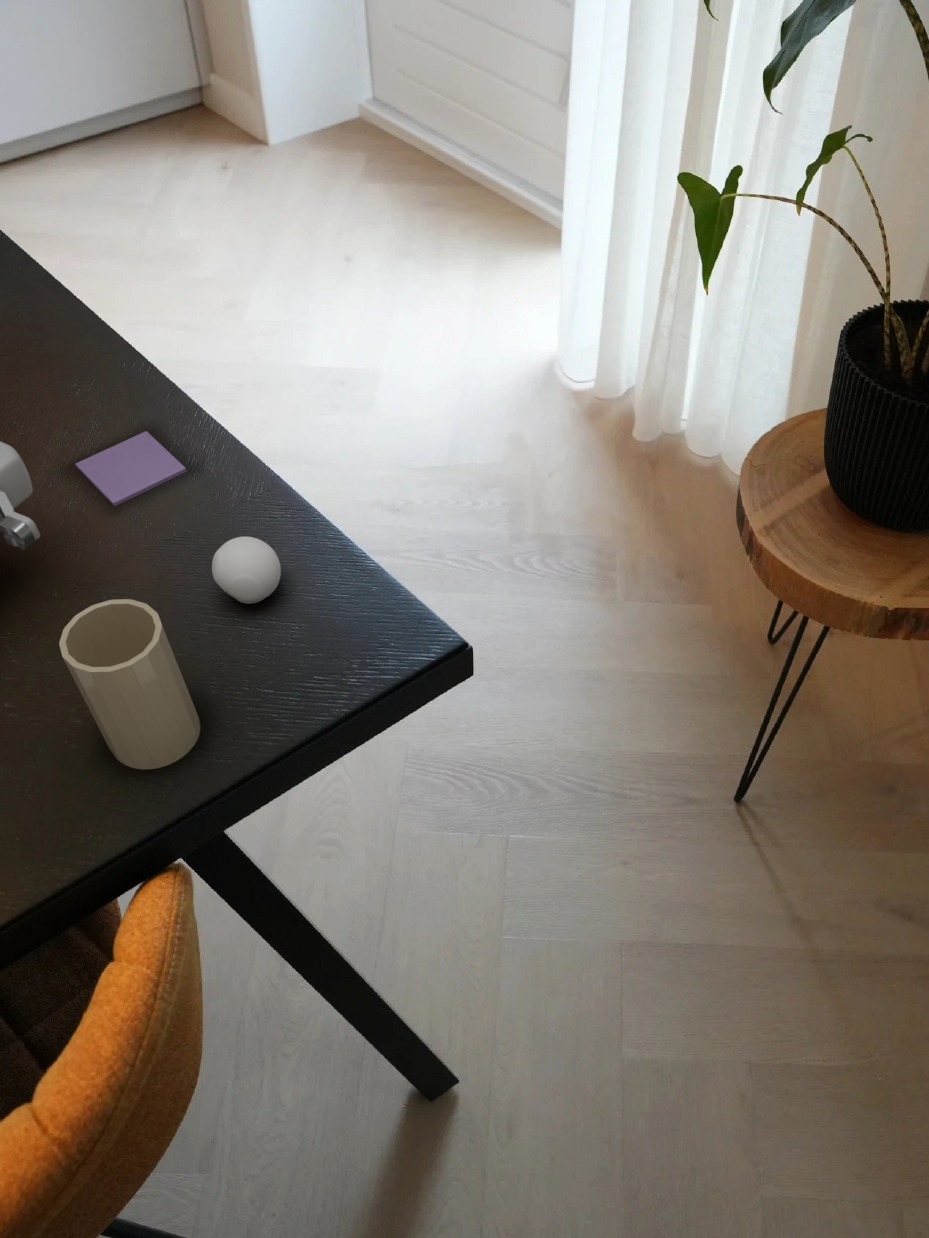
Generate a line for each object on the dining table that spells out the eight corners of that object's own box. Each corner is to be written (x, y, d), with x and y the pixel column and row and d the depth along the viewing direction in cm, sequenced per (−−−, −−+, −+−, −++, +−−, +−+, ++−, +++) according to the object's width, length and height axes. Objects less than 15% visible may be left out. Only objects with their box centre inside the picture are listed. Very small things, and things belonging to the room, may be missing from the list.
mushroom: (218, 578, 86) (202, 529, 83) (282, 566, 87) (269, 517, 83) (224, 624, 83) (208, 575, 80) (290, 611, 84) (277, 562, 80)
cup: (101, 771, 75) (49, 673, 67) (119, 700, 79) (72, 600, 71) (193, 768, 75) (151, 670, 67) (206, 698, 79) (168, 597, 71)
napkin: (114, 507, 91) (113, 503, 91) (76, 467, 95) (74, 463, 94) (187, 471, 94) (185, 468, 94) (147, 434, 97) (146, 430, 97)
